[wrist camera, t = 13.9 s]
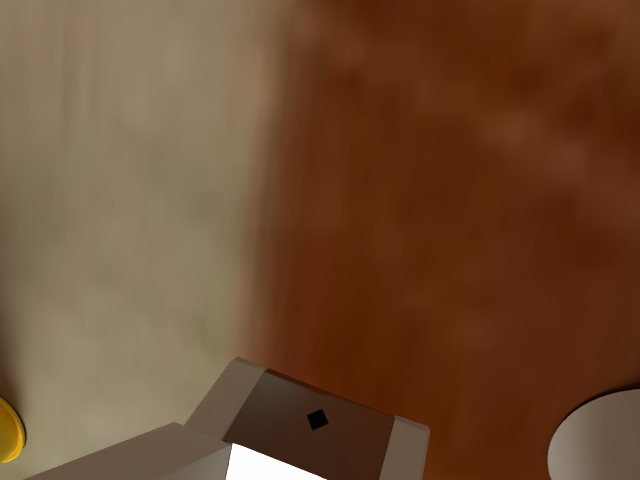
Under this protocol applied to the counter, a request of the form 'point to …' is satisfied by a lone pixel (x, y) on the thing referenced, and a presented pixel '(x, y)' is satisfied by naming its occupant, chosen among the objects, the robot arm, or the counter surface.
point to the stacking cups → (10, 433)
